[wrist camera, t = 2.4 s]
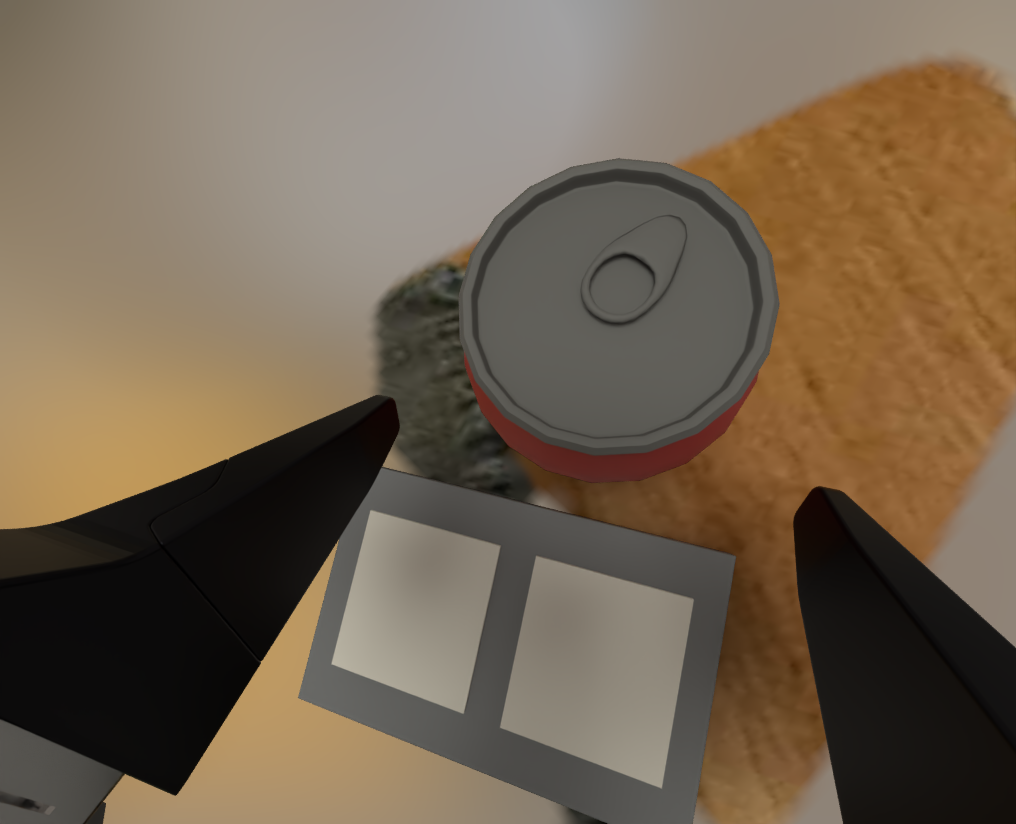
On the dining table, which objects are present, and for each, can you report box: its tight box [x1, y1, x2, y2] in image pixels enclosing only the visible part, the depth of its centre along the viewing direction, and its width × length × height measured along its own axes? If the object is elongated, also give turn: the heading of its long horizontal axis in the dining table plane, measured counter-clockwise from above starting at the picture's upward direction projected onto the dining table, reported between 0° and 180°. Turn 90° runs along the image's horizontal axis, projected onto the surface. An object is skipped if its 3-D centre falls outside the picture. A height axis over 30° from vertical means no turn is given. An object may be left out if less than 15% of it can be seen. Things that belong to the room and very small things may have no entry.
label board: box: [298, 467, 736, 824], centre depth 18 cm, size 11×17×1 cm, turn 77°
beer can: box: [459, 158, 779, 483], centre depth 13 cm, size 7×7×12 cm
